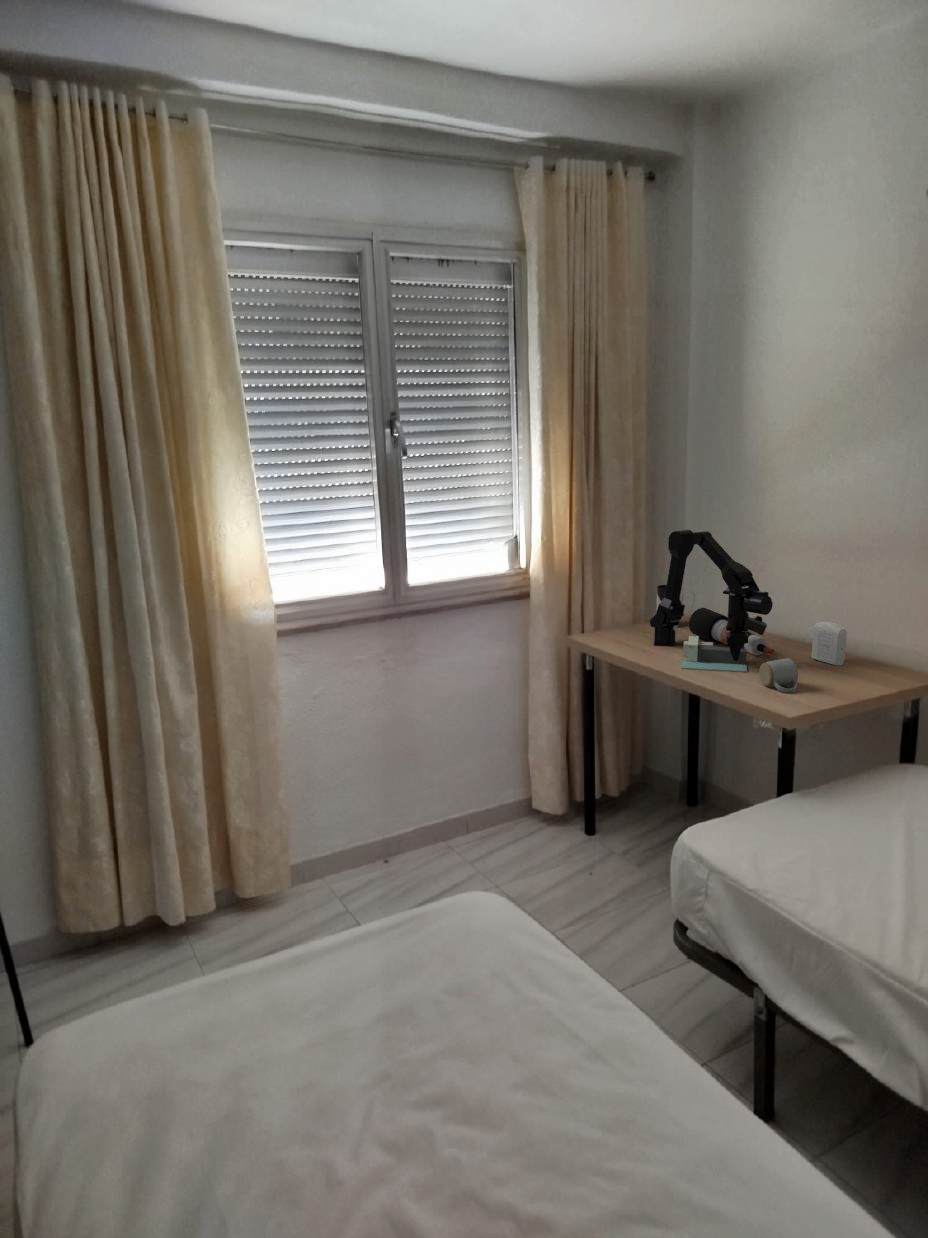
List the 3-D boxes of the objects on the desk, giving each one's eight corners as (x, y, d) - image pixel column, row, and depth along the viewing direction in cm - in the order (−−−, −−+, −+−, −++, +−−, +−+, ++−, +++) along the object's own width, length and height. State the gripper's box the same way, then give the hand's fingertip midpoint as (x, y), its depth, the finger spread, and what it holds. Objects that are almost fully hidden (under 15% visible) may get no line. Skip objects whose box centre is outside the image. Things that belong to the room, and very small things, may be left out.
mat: (681, 668, 243) (681, 667, 243) (682, 662, 250) (682, 661, 249) (747, 672, 237) (747, 671, 237) (746, 666, 244) (746, 664, 244)
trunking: (683, 656, 257) (683, 644, 256) (683, 652, 261) (684, 641, 260) (712, 657, 254) (712, 645, 253) (712, 654, 258) (712, 642, 257)
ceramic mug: (756, 683, 227) (758, 657, 225) (782, 681, 228) (784, 655, 226) (777, 695, 217) (779, 668, 215) (804, 692, 218) (806, 665, 216)
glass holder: (657, 622, 304) (657, 584, 301) (695, 625, 299) (696, 585, 295) (652, 627, 296) (653, 588, 293) (692, 630, 291) (693, 589, 288)
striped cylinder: (763, 673, 252) (756, 648, 247) (693, 640, 281) (685, 617, 276) (786, 655, 254) (779, 631, 249) (714, 624, 283) (707, 602, 278)
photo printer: (846, 664, 242) (849, 625, 240) (836, 666, 241) (839, 626, 238) (818, 657, 251) (821, 618, 249) (809, 658, 250) (811, 620, 247)
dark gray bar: (688, 660, 252) (689, 648, 251) (690, 657, 255) (690, 645, 255) (747, 664, 245) (748, 652, 244) (748, 661, 249) (749, 649, 248)
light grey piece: (687, 662, 249) (687, 645, 248) (688, 651, 262) (689, 635, 261) (697, 663, 248) (697, 645, 247) (698, 652, 261) (698, 635, 260)
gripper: (767, 617, 234) (764, 668, 237) (764, 604, 251) (761, 652, 254) (727, 615, 237) (725, 666, 240) (727, 603, 254) (725, 650, 258)
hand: (735, 658), depth 248 cm, fingers closed on dark gray bar, 4 cm apart
